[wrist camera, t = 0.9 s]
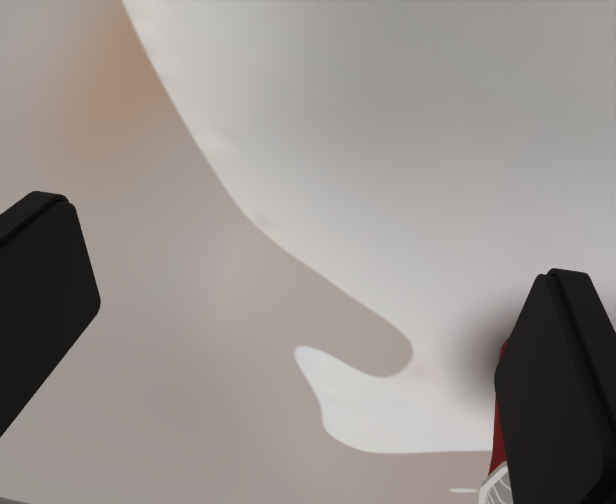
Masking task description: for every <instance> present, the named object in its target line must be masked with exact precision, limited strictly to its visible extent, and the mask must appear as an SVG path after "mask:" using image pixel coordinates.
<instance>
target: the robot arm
mask: <svg viewBox="0 0 616 504" xmlns="http://www.w3.org/2000/svg"><path fill="white" fill-rule="evenodd" d="M100 303H101V300H100V295H99V292H98V288H97V285H96V281H95V277H94V273H93V270H92V267H91V263H90V259H89V256H88V252H87V248H86V245H85V241H84V238H83V234H82V230H81V227H80V223H79V219H78V216H77V212H76V209H75V207H74V206H73V204H71V203H69V201H68V199H67V198H66V197H65V196H63V195H60V194H54V193H47V192H40V191H33V192H31V193H29V194H28V195H26V196H25V197H24V198H22V199H21V200H20V201H18V202H17V203H16V204H14V205H13V206H12V207H10V208H9V209H7V210H6V211H5V212H3V213H2V214H1V215H0V437H1V436H2V435H3V434H4V432H5V431H6V430H7V428H8V427H9V426H10V425H11V423H12V422H13V421H14V419H15V418H16V417H17V416H18V414H19V413H20V412H21V410H22V409H23V408H24V406H26V404H27V403H28V402H29V400H30V399H31V398H32V397H33V395H34V394H35V393H36V391H37V390H38V389H39V388H40V386H41V385H42V384H43V383H44V381H45V380H46V379H47V377H48V376H49V375H50V374H51V372H52V371H53V370H54V368H55V367H56V366H57V365H58V363H59V362H60V361H61V360H62V358H63V357H64V356H65V354H66V353H67V352H68V351H69V349H70V348H71V347H72V346H73V344H74V343H75V342H76V340H77V339H78V338H79V337H80V335H81V333H83V331H84V330H85V329H86V328H87V326H88V325H89V324H90V323H91V321H92V320H93V319H94V317H95V316H96V315H97V313H98V311H99V308H100ZM494 385H495V392H496V399H497V405H498V411H499V417H500V423H501V430H502V436H503V442H504V448H505V455H506V461H507V467H508V473H509V480H510V486H511V492H512V498H513V504H616V333H615V331H614V329H613V326H612V324H611V322H610V320H609V318H608V316H607V313H606V311H605V309H604V307H603V305H602V303H601V301H600V298H599V296H598V294H597V292H596V290H595V288H594V285H593V283H592V281H591V279H590V277H589V276H588V274H586V273H584V272H577V271H570V270H563V269H557V268H553V269H551V270H550V271H549V272H548V273H547V275H544V274H539V275H538V276H537V277H536V279H535V281H534V283H533V286H532V288H531V290H530V292H529V295H528V297H527V299H526V302H525V304H524V306H523V308H522V311H521V313H520V315H519V318H518V320H517V322H516V324H515V327H514V329H513V331H512V333H511V336H510V338H509V340H508V343H507V345H506V347H505V349H504V352H503V354H502V356H501V358H500V361H499V363H498V365H497V368H496V371H495V378H494ZM0 504H29V503H24V502H20V501H15V500H10V499H7V498H2V497H0Z"/></svg>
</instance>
